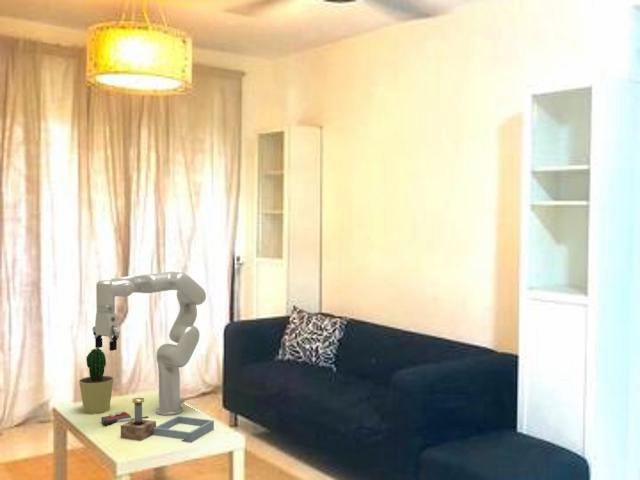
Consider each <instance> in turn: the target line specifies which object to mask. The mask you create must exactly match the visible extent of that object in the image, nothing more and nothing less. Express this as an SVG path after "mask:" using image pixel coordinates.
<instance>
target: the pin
mask: <svg viewBox="0 0 640 480" xmlns="http://www.w3.org/2000/svg"><path fill="white" fill-rule="evenodd" d="M131 402H132V403H133V405H134V418H135V425H139V426H140V425H142V419H143V418H142V417H143V403H144V402H145V398H144V397H135V398H132V401H131Z"/></svg>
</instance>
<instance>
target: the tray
mask: <svg viewBox="0 0 640 480" xmlns="http://www.w3.org/2000/svg"><path fill="white" fill-rule="evenodd" d="M179 424H181V425H189V426H198V427H197V428H194V429H193V430H191V431H185V430H178V429H177V430H176V429H170V428H173V427H174V426H176V425H179ZM214 429H215V420H213V419H205V418H197V417H189V416H182V415H178V416H175V417H173V418H171V419H169V420H167V421H165V422H163V423H160V424H159V425H156V427H154V428H153V435H152V436H160V437H166V438H172V439H173V438H175V439H180V440H181V442H183V443H184V442H185V443H193V442H194V441H196V440H197V439H199V438H201V437H202V436H204V435H207V434H208V433H210V432H212V431H214Z"/></svg>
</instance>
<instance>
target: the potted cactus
mask: <svg viewBox="0 0 640 480" xmlns="http://www.w3.org/2000/svg"><path fill="white" fill-rule="evenodd" d="M87 352H88V351H87ZM85 358H86V359H85V361H86V362H85V363H86V367H87V368H88V374H89V376H85V377H82V378H80V379H79V380H78V382H79V388H80V393H81V401H82V406H83V407H82V408H83V412H84V413H85V414H87V415H88V414H89V415H97V414H99V415H100V414H103V413H106V412H109V410H110V407H111V400H112V393H113V384H114V377H113V376H110V375H105V371H106V369H107V368H108V366H107V361H106V360H107V356H106V353H105V352H104V351H103V350H102V348H95V347H94V349H90V352H88V353H87V356H86V355H85ZM105 368H106V369H105Z"/></svg>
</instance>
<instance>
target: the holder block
mask: <svg viewBox="0 0 640 480" xmlns="http://www.w3.org/2000/svg"><path fill="white" fill-rule="evenodd" d="M156 426H157V421H156V420H148V419H143V418H142V425H140V426H139V425H135V419H134V420H132V421H127V422H126V423H125V422H124V423H123V424H121V425H120V439H125V440H132V441H138V442H141V441H144V440H146V439H148V438H149V437H152V436H154V435H153V428H154V427H156Z"/></svg>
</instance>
